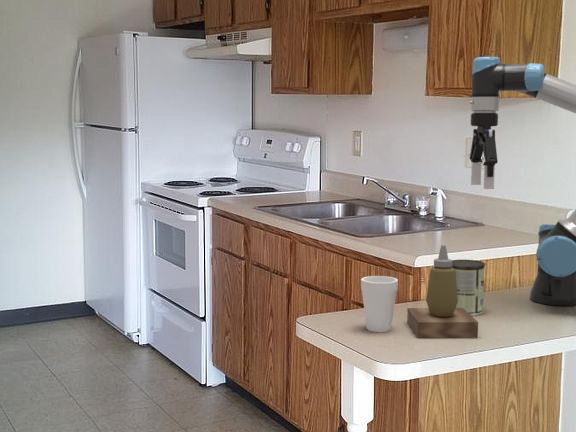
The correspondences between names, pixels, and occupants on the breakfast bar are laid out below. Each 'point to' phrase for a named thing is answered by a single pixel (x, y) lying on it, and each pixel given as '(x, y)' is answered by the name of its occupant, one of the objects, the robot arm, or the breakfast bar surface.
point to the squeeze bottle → (442, 286)
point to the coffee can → (470, 285)
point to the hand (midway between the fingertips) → (482, 186)
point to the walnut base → (442, 324)
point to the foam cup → (379, 301)
